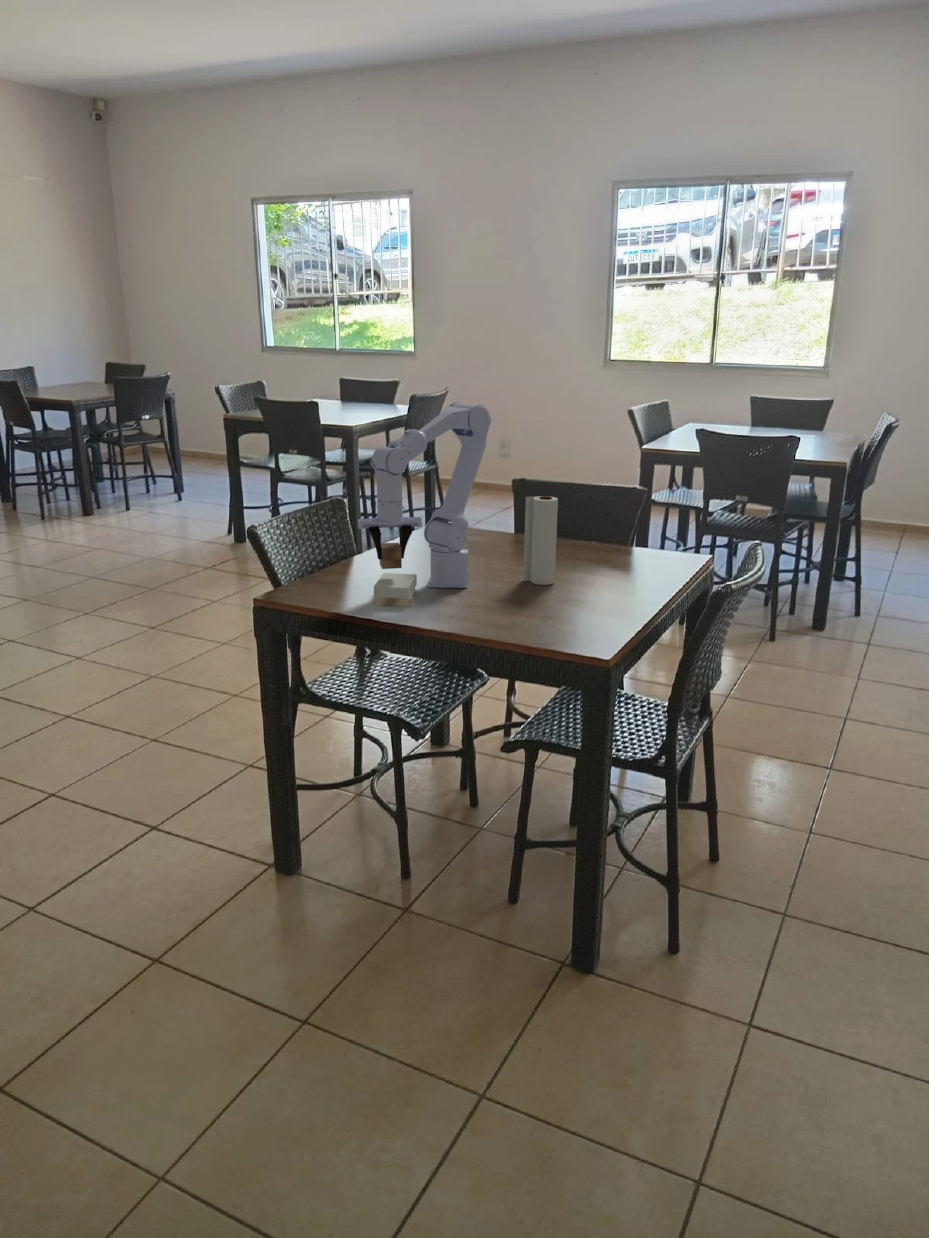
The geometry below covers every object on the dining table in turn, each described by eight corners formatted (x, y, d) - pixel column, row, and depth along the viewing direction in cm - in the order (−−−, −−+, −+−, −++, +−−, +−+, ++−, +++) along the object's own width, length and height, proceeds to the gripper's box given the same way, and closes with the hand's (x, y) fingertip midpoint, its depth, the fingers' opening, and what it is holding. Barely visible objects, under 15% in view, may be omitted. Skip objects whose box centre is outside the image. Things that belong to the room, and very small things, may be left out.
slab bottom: (415, 593, 222) (415, 584, 221) (411, 609, 210) (411, 598, 209) (382, 593, 222) (381, 583, 221) (376, 608, 210) (376, 598, 209)
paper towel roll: (559, 583, 229) (563, 498, 223) (539, 586, 226) (542, 500, 220) (542, 576, 235) (545, 493, 229) (523, 580, 232) (525, 495, 226)
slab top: (416, 584, 220) (416, 574, 220) (408, 598, 209) (408, 588, 208) (383, 582, 221) (383, 572, 220) (373, 597, 210) (373, 586, 209)
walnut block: (398, 563, 217) (398, 542, 216) (401, 568, 213) (401, 547, 212) (379, 564, 216) (379, 543, 215) (382, 569, 212) (381, 547, 211)
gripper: (418, 496, 215) (418, 552, 219) (355, 497, 212) (357, 555, 216) (423, 501, 209) (423, 559, 213) (359, 503, 206) (360, 562, 210)
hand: (390, 558), depth 214 cm, fingers closed on walnut block, 4 cm apart
